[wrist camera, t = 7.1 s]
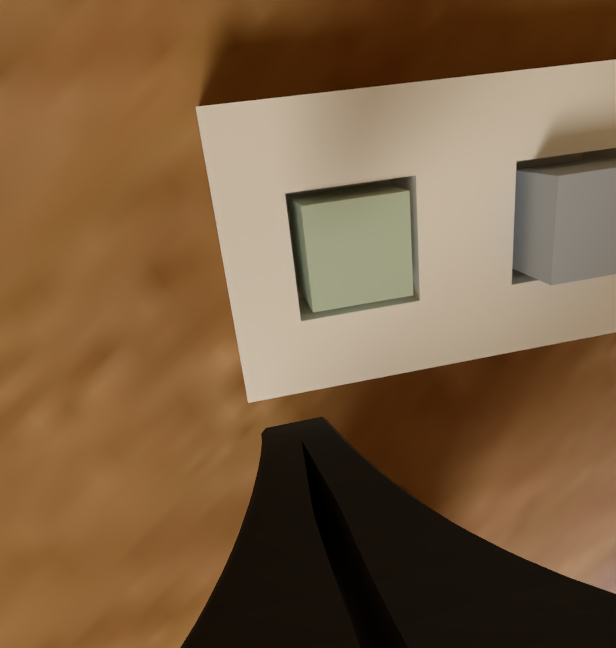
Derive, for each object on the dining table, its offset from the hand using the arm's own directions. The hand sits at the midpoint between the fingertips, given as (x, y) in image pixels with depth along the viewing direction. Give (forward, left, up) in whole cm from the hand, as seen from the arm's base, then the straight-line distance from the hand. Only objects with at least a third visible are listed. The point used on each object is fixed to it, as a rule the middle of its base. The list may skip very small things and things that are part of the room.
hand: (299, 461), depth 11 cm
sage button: (+2, -4, -10) cm, 11 cm away
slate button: (+2, -12, -9) cm, 15 cm away
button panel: (+2, -12, -10) cm, 16 cm away
